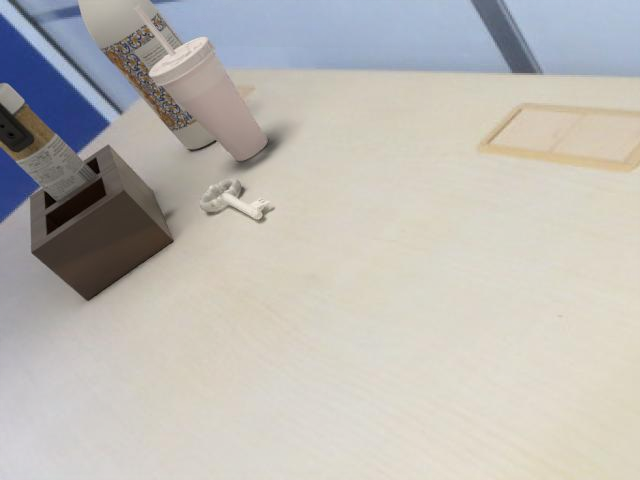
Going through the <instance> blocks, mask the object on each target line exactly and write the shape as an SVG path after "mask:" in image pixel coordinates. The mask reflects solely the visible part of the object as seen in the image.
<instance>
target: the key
mask: <svg viewBox="0 0 640 480" xmlns="http://www.w3.org/2000/svg"><path fill="white" fill-rule="evenodd" d="M242 187H243V186H242V183H241V182H240V180H239V179H238V178H236V177H229V178H226V179H224V180H221V181H220V182H219V183H215V184H214V185H210V186H209V187H208V190H206V193H204V194H202V196H201V197H200V198H199V201H198V204H199V207H200V209H201V210H202V211H204V212H207V213H211V212H216V211H218V210H220V209H222V208H223V207H226V206H227V205H230V206H231V207H233V208H235V209H237V210H239V211H240V212H243V213H244V214H245V215H248V216H249V217H251V218H252V219H254V220H261V219H262V218H263V212H262V211H263V210H264V208H265V207H269V205H270V204H271V201H269V200H264V199H263V198H262V197H259V198H258V199H255V200H254V201H252V202H251V203H246V202H245V201H243V200H242V199H240V198H238V197H237V196H238V195H239V194H240V192H241V191H242Z"/></svg>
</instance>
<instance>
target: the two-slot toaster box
mask: <svg viewBox="0 0 640 480" xmlns="http://www.w3.org/2000/svg"><path fill="white" fill-rule="evenodd" d="M83 161H84V162H85V163H86V164H87V165H88V166H89V167H90V168H91V169H92V170H93V171H94V172H95V173H96V174H97V175H96V176H95V177H93V178H92V179H90V180H89V181H87V182H86V183H84V184H83V185H81V186H80V187H78V188H77V189H75V190H74V191H72V192H71V193H69V194H68V195H66V196H65V197H63V198H62V199H60V200H59V201H56V200H55V199H54V198H53V197H52V196H50V195H49V194H48V193H47V192H46V191H45V190H44V189H43V188H42V187H41V189H39V190H38V191H36V192H35V193H33V194H31V195H30V196H29V214H30V215H29V216H30V217H29V218H30V254H32V255H33V256H34V257H35V258H36V259H38V260H39V261H40V263H42V264H43V265H44V266H46V267H47V268H48V269H49V270H51V272H53V273H54V274H55V275H56V276H57V277H58V278H60V279H61V280H62V281H63V282H64V283H66V285H68V286H69V287H70V288H71V289H73V290H74V291H75V292H76V293H77V294H78V295H80V296H81V297H82V298H83V299H84V300H85V301H89V300H91V299H92V298H94V297H95V296H97V295H98V294H99V293H100V292H102V291H103V290H105V289H106V288H108V287H109V286H110V285H112V284H114V283H115V282H116V281H118V280H120V279H121V278H122V277H123V276H125V275H126V274H128V273H129V272H131V271H132V270H134V269H136V267H138V266H139V265H140V264H142V263H144V262H145V261H147V260H148V259H150V258H151V257H152V256H154V255H156V254H157V253H158V252H160V251H161V250H162V249H164V248H165V247H167V246H168V245H169V244H171V243H173V241H174V239H173V237H172V234H171V232H170V229H169V227H168V225H167V222H166V220H165V217H164V216H163V213H162V211H161V208H160V206H159V203H158V201H157V199H156V197H155V194H154V192H153V190H152V189H151V187H150V186H149V185H148V184H147V183H146V182H145V181H144V180H143V179H142V178H141V177H140V176H139V174H137V172H136V171H135V170H134V169H133V168H132V167H131V166H130V164H128V162H126V161H125V159H123V157H121V155H119V153H118V152H117V151H116V150H115V149H114V148H113V147H112V146H111V145H110V144H106V145H105V146H103V147H102V148H101V149H98V150H97V151H96V152H94V153H93V154H91V155H89V156H88V157H87V158H85V159H83Z"/></svg>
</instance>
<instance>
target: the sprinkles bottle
mask: <svg viewBox="0 0 640 480" xmlns="http://www.w3.org/2000/svg"><path fill="white" fill-rule="evenodd" d="M0 103H1V104H2V105H3V106H5V107H6V108H7V109H8V110H9V111H10V112H11V113H12V114H13V115H14V116H15V117H16V118H17V119H18V120H19V121H20V122H21V123H22V124H23V125H24V126H25V127H26V128H27V129H28V130H29V131H30V132H31V133H32V134H33V136H34V143H33V144H31V145H30V146H28V147H27V148H25V149H24V150H22V151H21V152H18V153H16V152H13V151H11V150H10V149H9V148H8V147H7V146H6V145H5V144H4V143H3V142H2V141H0V149H2V150H3V152H5V153H6V154H7V155H8V156H9V157H10V158H11V159H12V161H13V160H14V161H15V163H16V164H17V165H18V166H19V167H20V168H21V169H22V170H23V171H24V172H25V173H26V174H27V175H29V176H30V177H31V178H32V179H33V181H34V182H36V184H38V185H39V186H40V187H41V189H42V188H43V189H44V190H45V191H46V192H47V193H48V194H49V195H50V196H52V197H53V198H54V199H55V200H56V201H59V200H60V199H62V198H63V197H65V196H66V195H68V194H69V193H71V192H72V191H74V190H75V189H77V188H78V187H80V186H81V185H83V184H84V183H86V182H87V181H89V180H90V179H92V178H93V177H95V176H96V175H97V174H96V173H95V172H94V171H93V170H92V169H91V168H90V167H89V166H88V165H87V164H86V163H85V162H84V159H82V158H81V157H80V156H79V155H78V154H77V153H76V151H74V150H73V149H72V148H71V146H69V145H68V144H67V143H66V142H65V141H64V140H63V139H62V137H60V135H58V134H57V133H56V132H55V131H53V130H52V129H51V128H50V127H49V126H48V124H46V123H45V122H44V121H43V120H42V119H41V118H40V117H39V116H38V115H37V114H36V113H35V112H34V111H33V110H32V109H31V108H30V106H29V104H28V103H26V101H25V99H24V98H23V96H21V95H20V94H19V93H18V92H17V91H16V90H15V89H14V88H13V87H12V86H11V85H10V84H9V83H6V82H1V83H0Z"/></svg>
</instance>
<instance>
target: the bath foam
mask: <svg viewBox="0 0 640 480" xmlns="http://www.w3.org/2000/svg"><path fill="white" fill-rule="evenodd" d="M77 4H78V8H79V11H80V15H81V18H82V21H83V23H84V26H85V28H86V30H87V32H88V34H89V35H90V37H91V38H92V40H93V41H94V43H95V44H96V45H97V47H98V48H99V50H100V51H101V52H102V54H104V56H105V57H106V58H107V59H108V60H109V61H110V62H111V63H112V65H113V66H114V67H115V68H116V69H117V70H118V72H119V73H120V74H121V75H122V76H123V78H124V79H125V80H126V81H127V82H128V83H129V84H130V86H131V87H132V88H133V89H134V90H135V92H136V93H137V94H138V95H139V96H140V97H141V98H142V99H143V101H144V102H145V103H146V104H147V105H148V107H149V108H150V109H151V110H152V111H153V112H154V113H155V114H156V116H157V117H158V118H159V120H161V122H162V123H163V124H164V125H165V126H166V128H167V129H168V130H169V131H170V132H171V133H172V134H173V135H174V136H175V137H176V139H177V140H178V141H179V142H180V143H181V144H182V146H183V147H184V148H186V149H187V150H198V149H201V148H204V147H207V146H208V145H210V144H211V143H213V142H215V141H217V140H216V139H215V138H214V137H212V136H211V135H210V134H209V133H208V132H207V131H206V130H205V129H204V128H203V127H202V126H201V125H200V124H199V123H198V122H197V121H196V120H195V119H194V118H193V117H192V116H191V115H190V114H189V113H188V112H187V111H186V110H185V109H184V108H183V107H182V106H181V105H180V104H179V103H178V102H177V101H176V100H175V99H174V98H173V97H172V96H171V95H170V94H169V93H168V92H167V91H166V90H165V89H164V88H163V87H162V86H157V85H156V84H155V82H154V81H153V80H152V79H151V77H150V76H149V72H150V70H151V69H152V68H153V66H154V65H155V64H156V63H158V62H159V61H160V60H161V59H162V58H164V56H166V55H168V54H169V53H168V52H167V51H166V49H165V48H164V47H163V46H162V44H161V43H160V42H159V41H158V39H157V38H156V37H155V36H154V34H153V33H152V32H151V31H150V29H149V28H148V27H147V26H146V24H145V23H144V22H143V21H142V19H141V18H140V17H139V16H138V14H137V13H136V12H135V11H134V8H136V7H137V6H139V7H140V8H141V9H142V10H143V12H144V13H145V14H146V15H147V17H148V18H149V19H150V21H151V22H152V23H153V24H154V26H155V27H156V28H157V29H158V31H159V32H160V33H161V34H162V36H163V37H164V38H165V40H166V41H167V42H168V43H169V45H170V46H171V47H172V48H173V50H175V49H177V48H178V47H180V46H182V45H183V44H185V42H184V41H183V39H182V38H181V37H180V36H179V34H178V33H177V32H176V30H175V29H174V28H173V26H172V25H171V24H170V23H169V21H168V20H167V19H166V18H165V16H164V15H163V14H162V13H161V11H160V10H159V9H158V7H157V6H156V5H155V4H154V3H153V1H151V0H77Z"/></svg>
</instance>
